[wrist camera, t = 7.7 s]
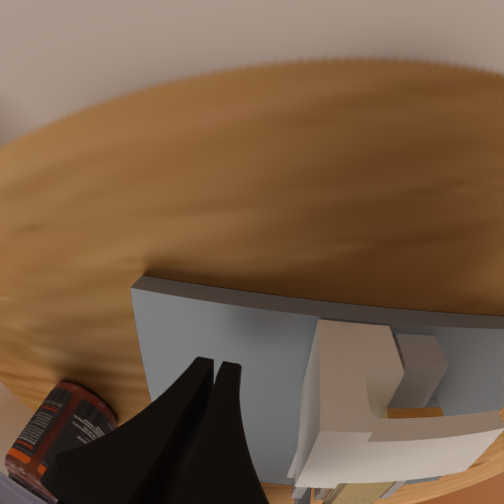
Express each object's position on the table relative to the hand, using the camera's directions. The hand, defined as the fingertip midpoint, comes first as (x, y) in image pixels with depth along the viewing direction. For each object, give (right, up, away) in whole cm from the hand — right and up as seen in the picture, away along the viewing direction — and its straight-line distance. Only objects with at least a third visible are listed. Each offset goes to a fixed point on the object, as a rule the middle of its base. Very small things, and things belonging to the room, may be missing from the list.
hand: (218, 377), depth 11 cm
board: (+6, -5, +5) cm, 9 cm away
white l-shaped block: (+6, 0, +1) cm, 6 cm away
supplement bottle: (-12, -7, +9) cm, 16 cm away
